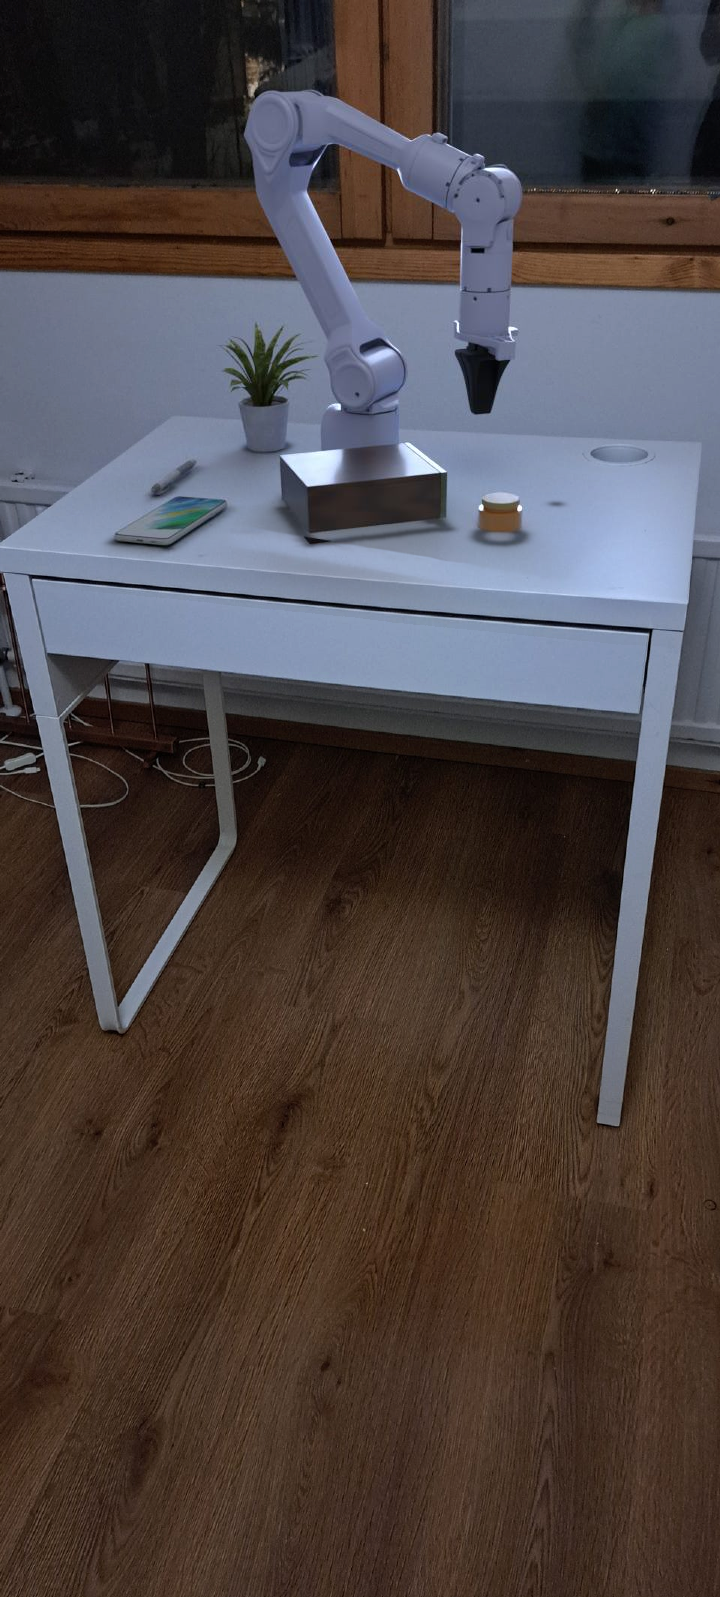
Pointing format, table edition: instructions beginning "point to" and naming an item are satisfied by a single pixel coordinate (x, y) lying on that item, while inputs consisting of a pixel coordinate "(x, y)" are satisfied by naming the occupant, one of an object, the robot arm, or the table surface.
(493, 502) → the jar
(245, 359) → the house plant
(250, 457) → the table surface
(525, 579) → the table surface
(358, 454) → the cabinet
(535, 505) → the table surface
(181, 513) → the smartphone
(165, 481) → the pen
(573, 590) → the table surface
